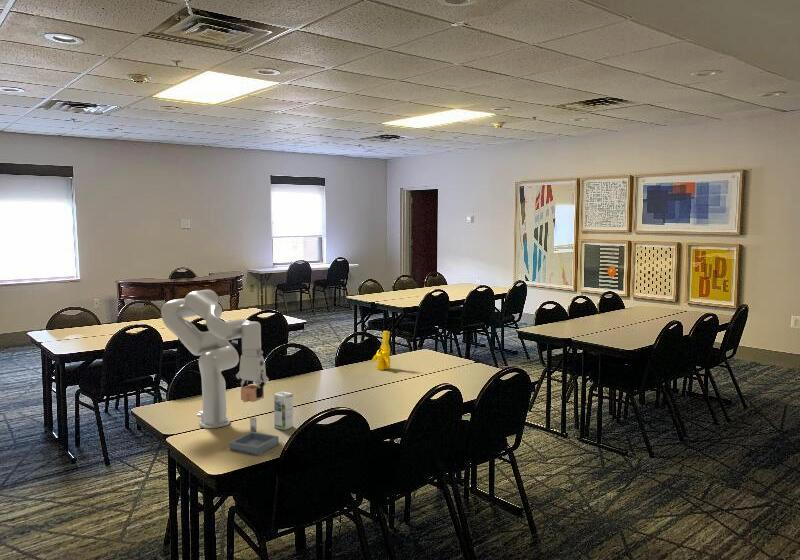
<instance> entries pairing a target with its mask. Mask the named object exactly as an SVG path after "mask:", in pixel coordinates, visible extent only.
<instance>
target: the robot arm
mask: <svg viewBox="0 0 800 560" xmlns="http://www.w3.org/2000/svg"><path fill="white" fill-rule="evenodd" d="M160 313H161V314H160V315H161V319H162V323H163V324H164V325H165V327H166V328H167V329H168V330H169V331H170V332H171V333H173V335H175V336H176V338H178V339H179V341H180V342H181V344H183V345H184V347H185V348H187V350H188V351H189V353H191V354H192V355H193V356H199V358H198V368H199V372H200V377H201V391H202V392H201V394H202V410H200V411H198V413H197V415H196V417H198V418H201V419H200V421H199V424H198V425H199V427H201V428H206V429H217V428H222V427H226V426H228V425H229V424H230V423H231V418H229V417H227V392H226V380H225V377H224V376H223V374H222V372H224V371H225V370H226V371H227V370H229V369H232V368H235V367H236V366H238V363H239V370H238V372H237V373H236V374H235V377H236V379H237V380H238V382H239V383H240V386H241V388H242V387H244V386H247V385H249V384H248V383H249V381H250V382H255V385H257V387H258V388H257V389H256V390H257V398H260V397H262V396H263V387H265V385H266V384H267V383H268V382H269V380H270V379H269V377H268V376H267V373H266V372H267V371H266V362H265V359H264V356H263V354H264V351H263V350H262V326H261V323H260V322H259V321H255V320H254V321H251V320H248V319H246V318H240V319H233V320H227V321H224V320H222V319H221V316H222V313H223V307H222V306H221V304H220V303H219V296H218V294H217V293H216V291H214V290H212V289H202V290H194V291H191V292H189V293H187V294H186V296H185V297H184V298H177V299H172V300H169V301H167V302H165V303H164V304H163V305H162V307H161V309H160ZM197 316H198V317H200V318H201V319H203V320H204V321H205V324H206V327H207V331H201V330H199V329H198V327H196V325H195V324H194V323H193V322H191V321H189V320H187V319H186V318H191V317H197ZM235 339H236V340H237V339H241V355H240V357H239V353H238V351H237V349H236V348H235V347H234V346H233V345H232V343H230V342H229V341H230V340H235Z"/></svg>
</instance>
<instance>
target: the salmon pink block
mask: <svg viewBox="0 0 800 560" xmlns="http://www.w3.org/2000/svg"><path fill="white" fill-rule="evenodd" d="M264 387H265V386H264ZM264 387H263V396H262V397H260V398H257V390H256V389H257V388H258V387H257V384H253V383H250V384H248V385H247V386H244V387H242V386H241V387H240V400H241V401H242V402H243V403H248V402H250V403H255V402H257V401H260V400H262V399H264V398H265V390H264V389H265V388H264Z"/></svg>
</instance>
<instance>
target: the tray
mask: <svg viewBox="0 0 800 560" xmlns="http://www.w3.org/2000/svg"><path fill="white" fill-rule="evenodd" d="M279 441H280V439H279V436H278V435H273V434H269V433H267V434H266V433H261V432H258V431H257V432H252V431H251V432H250V431H249V432H248V433H246V434H244V435H241V436H239V437H237V438H235V439H233V440H232V441H229V442H228V443H229V444H228V446H229V447H228V448H229V451H232V452H236V453H237V452H238V453H242V454H247V455H252V456H256V457H257V456H260V455H261V454H263V453H265V452H267V451H268V450H270V449H272V448H274V447H276V446H278V445H279V444H280V442H279Z"/></svg>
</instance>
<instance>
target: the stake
mask: <svg viewBox="0 0 800 560" xmlns="http://www.w3.org/2000/svg"><path fill="white" fill-rule="evenodd" d="M249 423H250V424H249V425H250V431H249V432H251V431H252V432H257V433H258V431H257V430H258V426H257V417H250V418H249Z"/></svg>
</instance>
